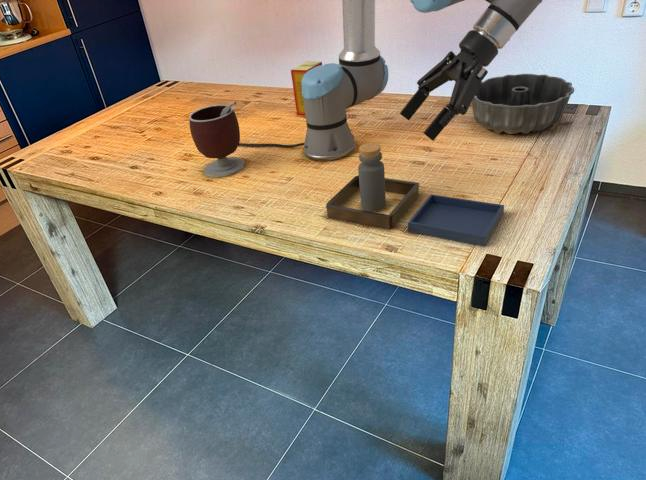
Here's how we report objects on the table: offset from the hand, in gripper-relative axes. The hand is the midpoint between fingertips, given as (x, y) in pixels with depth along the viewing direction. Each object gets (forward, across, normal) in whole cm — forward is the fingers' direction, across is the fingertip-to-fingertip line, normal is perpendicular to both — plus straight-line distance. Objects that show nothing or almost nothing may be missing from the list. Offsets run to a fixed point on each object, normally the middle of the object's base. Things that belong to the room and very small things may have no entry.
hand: (415, 126), depth 111 cm
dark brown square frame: (+20, 0, -5) cm, 20 cm away
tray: (+10, -14, -15) cm, 23 cm away
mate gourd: (+43, +41, +18) cm, 62 cm away
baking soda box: (+18, +75, -6) cm, 78 cm away
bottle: (+20, 0, -5) cm, 21 cm away
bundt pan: (-17, +28, -42) cm, 53 cm away
